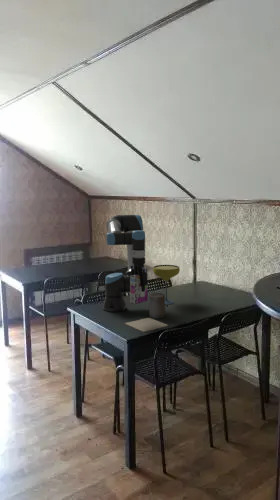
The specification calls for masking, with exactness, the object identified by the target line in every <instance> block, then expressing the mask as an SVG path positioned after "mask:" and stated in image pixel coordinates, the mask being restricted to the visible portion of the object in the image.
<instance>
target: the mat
mask: <svg viewBox="0 0 280 500" xmlns="http://www.w3.org/2000/svg"><path fill="white" fill-rule="evenodd" d="M124 325H126V326H128V327H130V328H133V329H135V330H137V331H139V332H141V331H142V332H141V333H146V332H150V331H154V330H158V329H161V328H166V327H168V326H169V325H168V324H167V323H164V322H162V321H158V320H156V319H155V318H152V317H145V318H141V319H137V320H133V321H128V322H124ZM157 328H158V329H157Z"/></svg>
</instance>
